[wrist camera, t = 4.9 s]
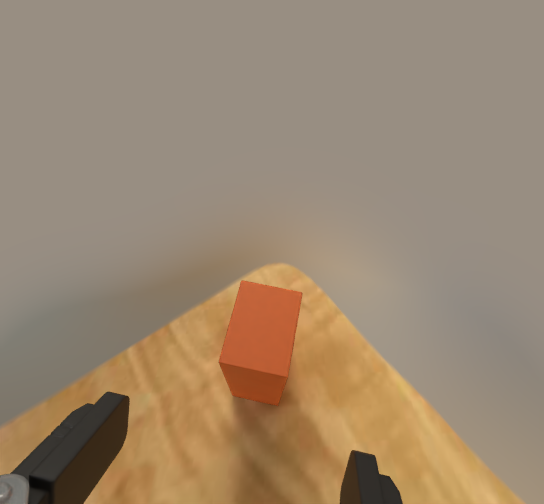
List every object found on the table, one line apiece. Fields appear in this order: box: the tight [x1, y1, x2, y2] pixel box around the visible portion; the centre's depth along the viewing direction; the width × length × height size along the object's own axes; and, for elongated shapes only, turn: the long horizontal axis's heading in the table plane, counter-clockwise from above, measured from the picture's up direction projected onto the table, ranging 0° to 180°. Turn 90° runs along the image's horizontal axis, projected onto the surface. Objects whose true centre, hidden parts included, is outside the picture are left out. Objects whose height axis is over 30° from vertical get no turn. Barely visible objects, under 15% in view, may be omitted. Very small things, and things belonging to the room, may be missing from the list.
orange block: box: [219, 280, 302, 406], centre depth 20 cm, size 4×3×9 cm
